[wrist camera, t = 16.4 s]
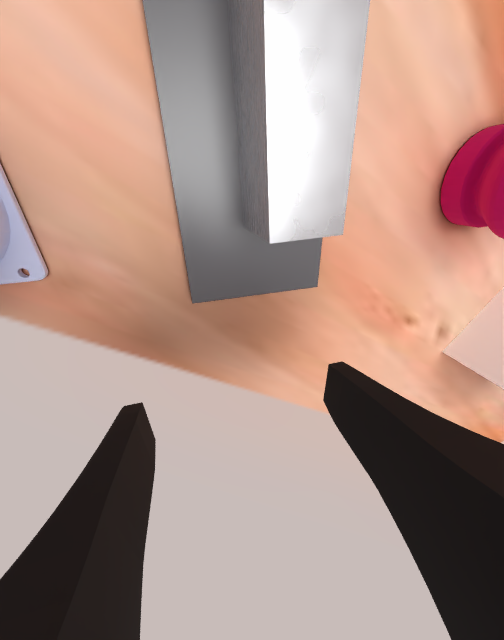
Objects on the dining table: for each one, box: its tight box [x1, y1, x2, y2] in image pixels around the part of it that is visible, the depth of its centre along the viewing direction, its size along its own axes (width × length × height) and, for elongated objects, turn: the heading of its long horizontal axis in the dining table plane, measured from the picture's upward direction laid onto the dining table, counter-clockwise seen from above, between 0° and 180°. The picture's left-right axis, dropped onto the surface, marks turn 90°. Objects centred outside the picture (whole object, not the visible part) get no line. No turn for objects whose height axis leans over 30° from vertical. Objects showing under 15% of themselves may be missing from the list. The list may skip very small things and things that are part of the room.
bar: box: [228, 0, 370, 244], centre depth 9 cm, size 4×16×5 cm, turn 4°
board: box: [143, 0, 322, 304], centre depth 14 cm, size 9×17×1 cm, turn 2°
